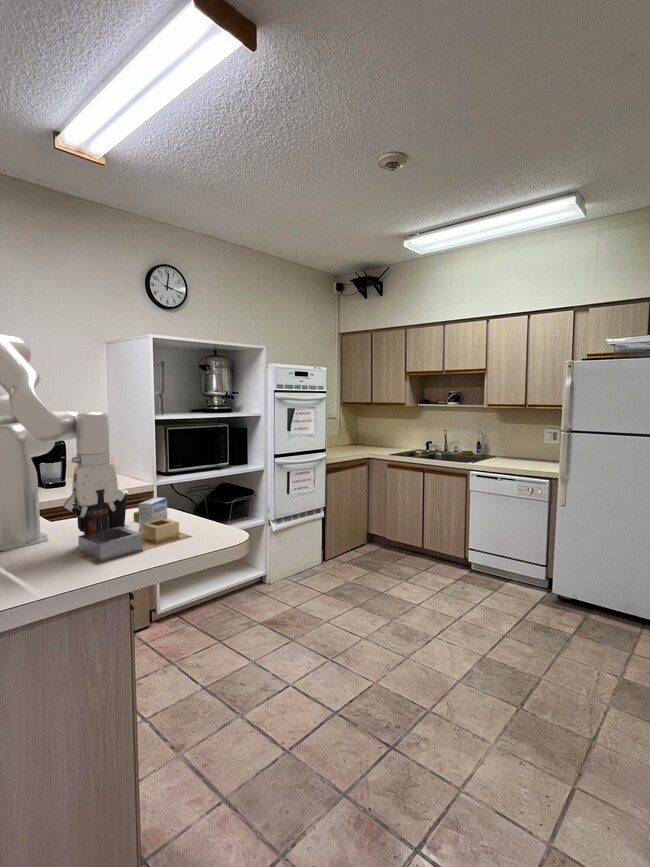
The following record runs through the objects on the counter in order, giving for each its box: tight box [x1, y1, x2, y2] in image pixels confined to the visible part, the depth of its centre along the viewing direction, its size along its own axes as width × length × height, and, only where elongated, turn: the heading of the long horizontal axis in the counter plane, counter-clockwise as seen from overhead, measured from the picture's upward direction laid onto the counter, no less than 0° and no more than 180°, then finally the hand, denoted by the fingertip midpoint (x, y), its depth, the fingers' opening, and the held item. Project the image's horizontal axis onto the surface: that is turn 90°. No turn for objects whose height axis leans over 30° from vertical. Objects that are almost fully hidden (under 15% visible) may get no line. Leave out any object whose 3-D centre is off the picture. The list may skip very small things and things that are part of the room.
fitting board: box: [72, 531, 194, 565], centre depth 119 cm, size 12×26×1 cm, turn 142°
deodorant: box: [83, 489, 109, 535], centre depth 121 cm, size 6×6×15 cm
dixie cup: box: [109, 488, 129, 529], centre depth 135 cm, size 8×8×11 cm
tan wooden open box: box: [140, 518, 180, 543], centre depth 125 cm, size 7×7×4 cm
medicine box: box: [138, 497, 168, 531], centre depth 135 cm, size 8×4×9 cm, turn 168°
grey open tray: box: [78, 526, 143, 562], centre depth 114 cm, size 10×10×4 cm
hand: (96, 527), depth 121 cm, fingers closed on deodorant, 5 cm apart
